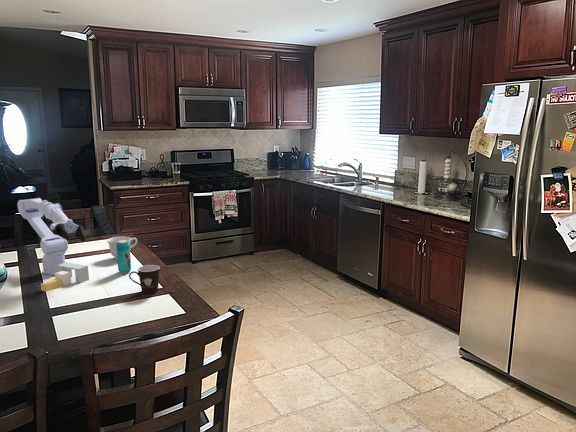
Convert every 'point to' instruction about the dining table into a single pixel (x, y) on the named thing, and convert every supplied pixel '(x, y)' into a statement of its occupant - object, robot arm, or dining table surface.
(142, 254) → the dining table surface
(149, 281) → the coffee mug
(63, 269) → the housing
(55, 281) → the plug
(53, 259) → the robot arm
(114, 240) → the teacup
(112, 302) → the dining table surface
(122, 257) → the beverage can
